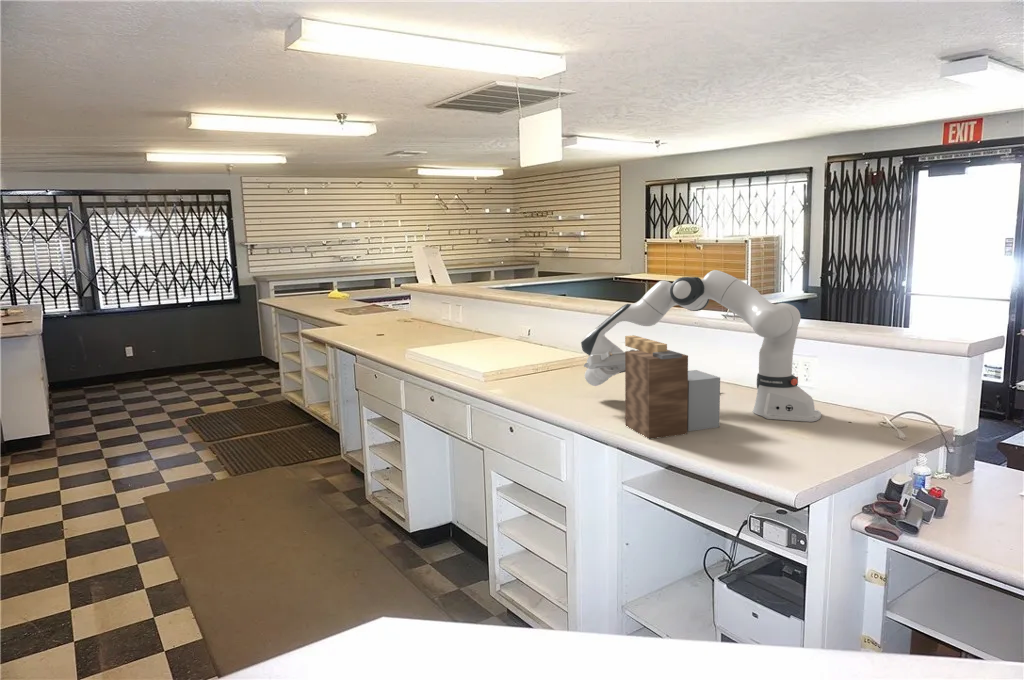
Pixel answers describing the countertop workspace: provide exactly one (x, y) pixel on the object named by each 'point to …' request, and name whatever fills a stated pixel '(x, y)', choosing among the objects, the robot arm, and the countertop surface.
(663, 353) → the wooden bar
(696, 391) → the step
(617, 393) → the countertop surface
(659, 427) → the pedestal
